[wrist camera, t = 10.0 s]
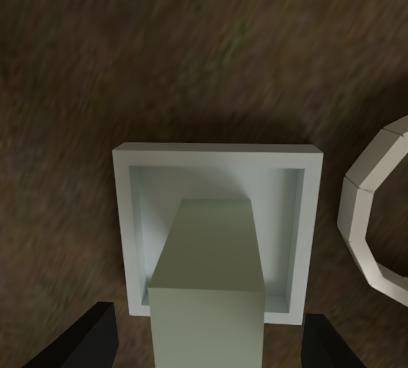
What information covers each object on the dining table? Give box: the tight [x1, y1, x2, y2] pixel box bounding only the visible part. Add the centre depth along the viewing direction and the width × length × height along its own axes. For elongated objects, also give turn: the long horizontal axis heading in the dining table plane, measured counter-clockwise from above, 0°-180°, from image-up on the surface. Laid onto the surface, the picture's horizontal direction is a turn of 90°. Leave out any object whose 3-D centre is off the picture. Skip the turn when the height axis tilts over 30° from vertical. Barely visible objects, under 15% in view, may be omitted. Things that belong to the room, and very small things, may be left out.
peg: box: [148, 199, 266, 368], centre depth 15 cm, size 4×4×8 cm
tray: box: [112, 142, 323, 325], centre depth 18 cm, size 11×11×2 cm
